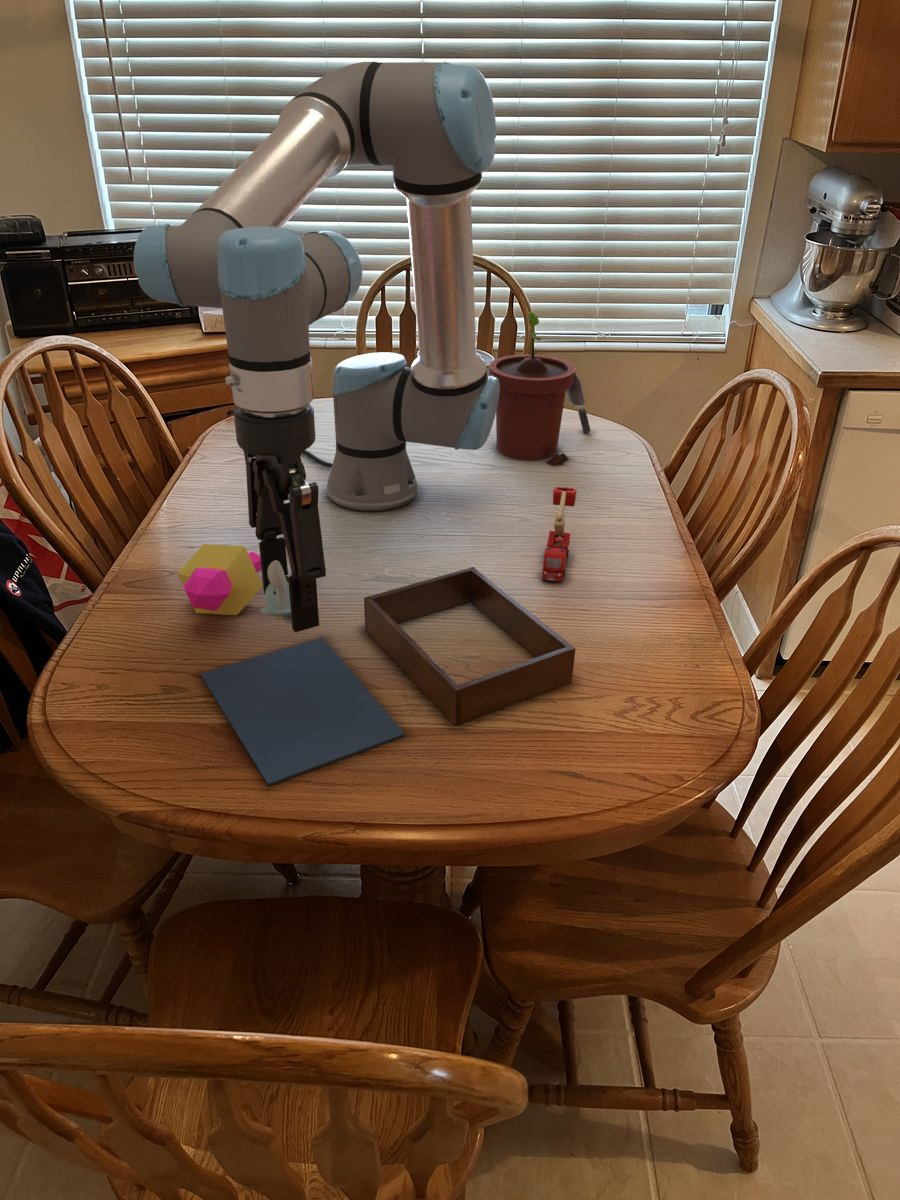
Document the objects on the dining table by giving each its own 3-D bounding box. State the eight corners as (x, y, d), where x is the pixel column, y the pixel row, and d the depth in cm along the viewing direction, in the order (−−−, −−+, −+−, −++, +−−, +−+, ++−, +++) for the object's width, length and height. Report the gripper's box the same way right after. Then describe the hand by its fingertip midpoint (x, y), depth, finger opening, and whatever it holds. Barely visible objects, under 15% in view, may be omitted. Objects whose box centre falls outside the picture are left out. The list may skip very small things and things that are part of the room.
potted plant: (482, 430, 180) (487, 303, 167) (589, 431, 181) (602, 304, 168) (488, 465, 165) (494, 327, 152) (605, 465, 166) (621, 328, 153)
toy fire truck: (540, 582, 129) (545, 521, 124) (550, 539, 140) (555, 482, 135) (563, 585, 128) (569, 524, 123) (571, 541, 140) (577, 484, 135)
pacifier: (322, 596, 100) (267, 595, 100) (320, 546, 97) (264, 545, 97) (317, 631, 94) (259, 631, 94) (315, 580, 91) (255, 579, 90)
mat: (200, 676, 108) (200, 673, 108) (322, 639, 115) (322, 637, 115) (268, 786, 92) (267, 783, 92) (404, 736, 99) (404, 733, 99)
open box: (364, 630, 117) (363, 597, 115) (471, 597, 125) (473, 566, 122) (454, 726, 101) (456, 690, 98) (572, 682, 108) (575, 648, 106)
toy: (288, 585, 128) (258, 518, 126) (252, 619, 111) (216, 542, 109) (225, 609, 130) (195, 543, 128) (180, 646, 113) (144, 571, 111)
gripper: (200, 381, 91) (225, 577, 103) (276, 446, 76) (295, 667, 88) (271, 370, 94) (287, 562, 106) (356, 431, 79) (364, 645, 91)
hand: (290, 609), depth 97 cm, fingers closed on pacifier, 7 cm apart
